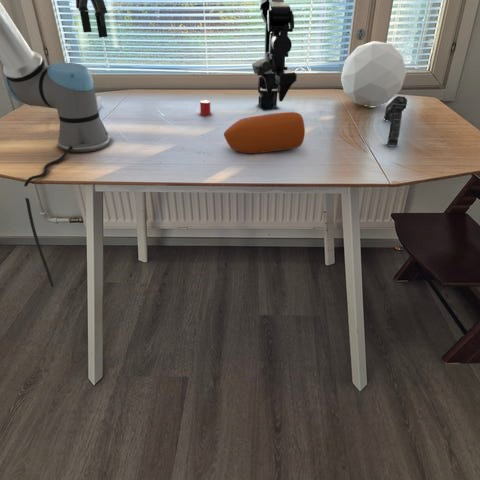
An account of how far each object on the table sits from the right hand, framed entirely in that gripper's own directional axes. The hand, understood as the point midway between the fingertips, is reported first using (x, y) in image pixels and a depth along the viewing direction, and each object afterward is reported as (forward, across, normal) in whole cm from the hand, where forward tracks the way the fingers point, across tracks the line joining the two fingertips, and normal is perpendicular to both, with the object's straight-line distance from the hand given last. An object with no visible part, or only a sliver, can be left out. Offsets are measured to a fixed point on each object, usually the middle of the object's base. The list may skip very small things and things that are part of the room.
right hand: (274, 97), depth 143 cm
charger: (+9, -40, -60) cm, 73 cm away
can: (+9, -18, -20) cm, 28 cm away
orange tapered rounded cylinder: (+9, +21, -14) cm, 27 cm away
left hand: (-18, -34, -54) cm, 66 cm away
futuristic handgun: (+9, +25, +33) cm, 42 cm away
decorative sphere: (+9, -6, +46) cm, 47 cm away
